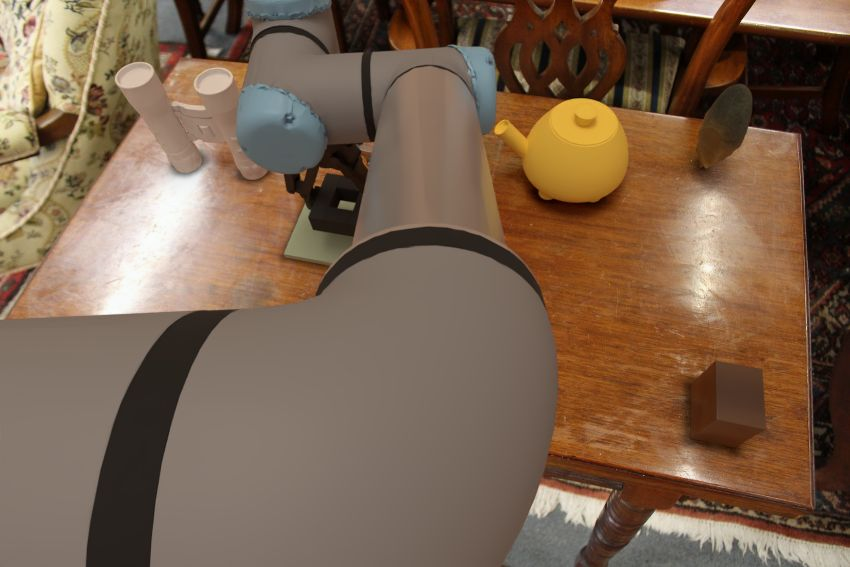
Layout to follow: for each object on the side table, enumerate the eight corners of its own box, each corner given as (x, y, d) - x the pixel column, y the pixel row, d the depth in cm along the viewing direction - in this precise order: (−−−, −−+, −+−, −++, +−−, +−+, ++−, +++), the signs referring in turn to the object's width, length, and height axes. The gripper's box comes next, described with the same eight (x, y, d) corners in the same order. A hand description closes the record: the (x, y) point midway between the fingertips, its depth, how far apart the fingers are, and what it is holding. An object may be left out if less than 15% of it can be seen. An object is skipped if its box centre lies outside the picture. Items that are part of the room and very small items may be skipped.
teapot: (488, 212, 85) (493, 148, 73) (493, 137, 92) (498, 68, 81) (623, 220, 83) (650, 155, 71) (617, 142, 90) (641, 72, 79)
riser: (734, 448, 66) (766, 429, 59) (689, 438, 67) (716, 419, 60) (732, 392, 69) (762, 368, 62) (690, 384, 70) (715, 360, 63)
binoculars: (275, 158, 93) (238, 68, 77) (265, 183, 90) (225, 95, 74) (179, 149, 95) (124, 60, 79) (167, 173, 92) (107, 86, 77)
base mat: (401, 278, 80) (399, 266, 77) (285, 257, 83) (278, 244, 80) (421, 212, 85) (420, 198, 82) (311, 195, 88) (306, 180, 85)
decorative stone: (684, 141, 90) (722, 63, 77) (724, 149, 89) (769, 71, 76) (678, 186, 85) (717, 112, 72) (719, 195, 84) (767, 121, 71)
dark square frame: (367, 239, 77) (363, 226, 74) (312, 230, 78) (307, 217, 75) (382, 194, 81) (380, 180, 78) (330, 186, 82) (326, 172, 79)
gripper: (415, 95, 63) (426, 216, 82) (245, 73, 66) (294, 195, 86) (398, 144, 59) (413, 258, 79) (220, 118, 62) (277, 235, 82)
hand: (351, 225), depth 82 cm, fingers closed on dark square frame, 8 cm apart
